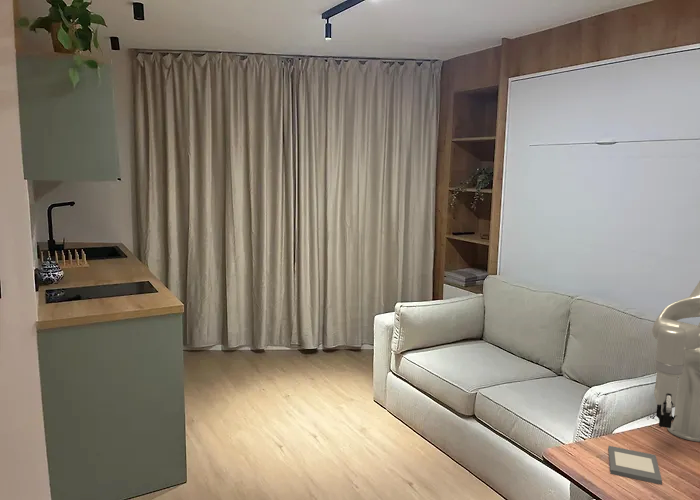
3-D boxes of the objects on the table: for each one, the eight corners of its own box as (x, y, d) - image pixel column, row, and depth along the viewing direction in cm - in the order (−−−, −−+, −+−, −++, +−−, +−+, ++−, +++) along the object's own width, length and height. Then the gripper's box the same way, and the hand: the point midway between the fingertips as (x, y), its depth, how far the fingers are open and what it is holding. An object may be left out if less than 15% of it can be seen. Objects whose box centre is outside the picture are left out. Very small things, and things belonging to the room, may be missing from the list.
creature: (651, 430, 174) (679, 429, 172) (649, 414, 173) (678, 413, 171) (643, 418, 181) (670, 416, 180) (642, 402, 180) (669, 401, 179)
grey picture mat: (608, 449, 177) (608, 445, 177) (655, 458, 172) (655, 454, 172) (610, 473, 162) (610, 469, 162) (661, 484, 157) (662, 480, 157)
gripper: (652, 356, 183) (647, 408, 185) (658, 375, 167) (652, 432, 170) (678, 359, 180) (673, 412, 183) (687, 378, 164) (681, 436, 167)
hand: (663, 421), depth 176 cm, fingers closed on creature, 6 cm apart
